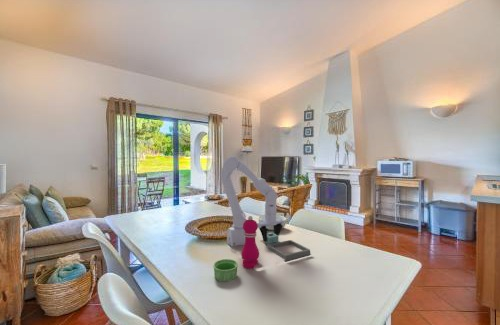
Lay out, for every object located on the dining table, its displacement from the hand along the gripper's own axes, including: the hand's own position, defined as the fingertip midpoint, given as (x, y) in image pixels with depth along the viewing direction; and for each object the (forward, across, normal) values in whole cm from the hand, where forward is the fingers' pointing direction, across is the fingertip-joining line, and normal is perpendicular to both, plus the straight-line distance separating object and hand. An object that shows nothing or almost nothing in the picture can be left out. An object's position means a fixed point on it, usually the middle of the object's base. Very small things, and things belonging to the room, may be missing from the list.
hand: (270, 239), depth 116 cm
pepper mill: (+2, -20, -15) cm, 25 cm away
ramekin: (+2, -32, -18) cm, 37 cm away
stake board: (+2, 0, 0) cm, 2 cm away
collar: (+1, 0, 0) cm, 1 cm away
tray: (+2, +1, -13) cm, 13 cm away
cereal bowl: (+2, +14, +19) cm, 24 cm away
